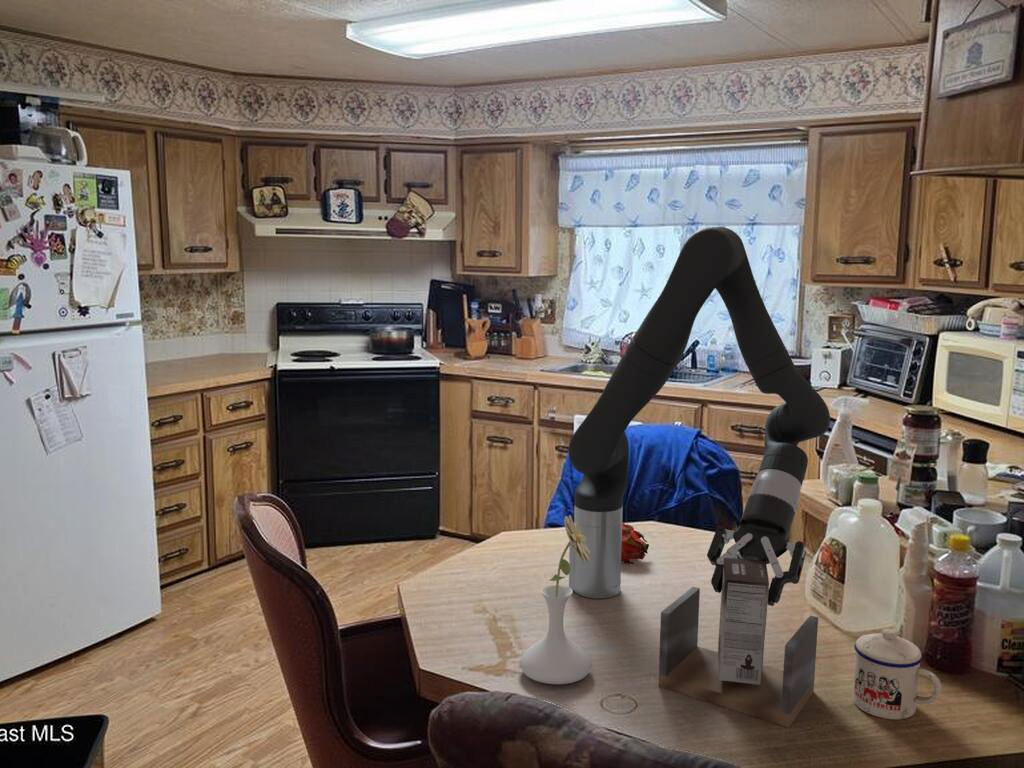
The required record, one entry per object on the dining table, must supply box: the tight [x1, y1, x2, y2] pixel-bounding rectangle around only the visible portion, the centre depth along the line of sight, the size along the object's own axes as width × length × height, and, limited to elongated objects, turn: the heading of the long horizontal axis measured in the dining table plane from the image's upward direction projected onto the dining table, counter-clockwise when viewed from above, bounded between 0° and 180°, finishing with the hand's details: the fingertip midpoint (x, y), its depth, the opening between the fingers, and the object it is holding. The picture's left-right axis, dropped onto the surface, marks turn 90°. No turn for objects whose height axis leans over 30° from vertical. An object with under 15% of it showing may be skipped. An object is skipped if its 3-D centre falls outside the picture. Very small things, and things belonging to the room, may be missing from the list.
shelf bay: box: [658, 586, 819, 728], centre depth 131 cm, size 20×12×12 cm, turn 55°
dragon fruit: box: [621, 522, 650, 565], centre depth 185 cm, size 8×8×12 cm
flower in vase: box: [519, 514, 593, 685], centre depth 135 cm, size 13×11×25 cm
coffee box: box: [717, 558, 770, 685], centre depth 131 cm, size 9×6×16 cm
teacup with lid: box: [852, 628, 942, 720], centre depth 126 cm, size 12×9×12 cm
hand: (742, 596), depth 131 cm, fingers closed on coffee box, 8 cm apart
